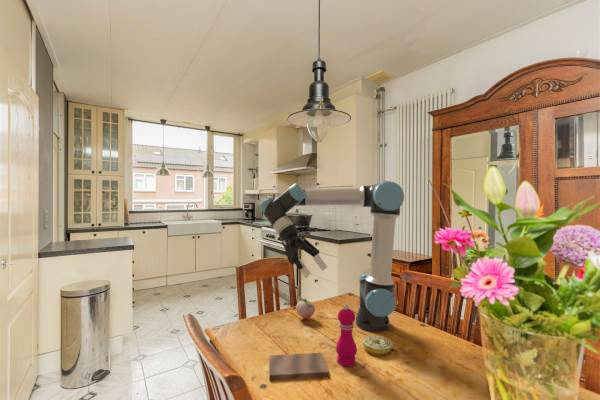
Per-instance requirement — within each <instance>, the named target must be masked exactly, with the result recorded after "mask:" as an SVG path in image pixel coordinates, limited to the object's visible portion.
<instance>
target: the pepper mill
mask: <svg viewBox="0 0 600 400" xmlns="http://www.w3.org/2000/svg"><path fill="white" fill-rule="evenodd" d="M355 315H356V314H355V312H354V311H353V310H352V309H350V307H349V305H348V304H345V305H343V308H341V309H339V311H338V314H337V319H338V322H339V323H338V327H339V328H340V335H339V338H338V341H337V343H336V345H335V346H336V347H335V350H336V351H335V352H336V353H337V359H336V360H337V363H338V364H339V365H341V366H343V367H353V366H354V365H355V364H356V355H357V352H358V350H357V349H358V348H357V343H356V342H355V339H354V337H353V329H354V322H355V321H356V316H355Z"/></svg>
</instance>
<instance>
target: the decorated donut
mask: <svg viewBox="0 0 600 400" xmlns="http://www.w3.org/2000/svg"><path fill="white" fill-rule="evenodd" d="M362 345H363V349H364V350H365V351H366V352H367V353H369V354H371V355H373V356H379V357H382V356H386V355H388V354H390V352H391V351H392V348H393V344H392V343H391V342H390V340H388V338H385V337H383V336H379V335H374V336H373V335H372V336H367V337H365V338H364V339H363V341H362Z"/></svg>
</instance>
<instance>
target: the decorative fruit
mask: <svg viewBox="0 0 600 400" xmlns="http://www.w3.org/2000/svg"><path fill="white" fill-rule="evenodd" d="M295 307H296V308H295V310H296V314H297V315H298V316H299V317H301V318H303V319H305V320H307V319H309V318H312V317H313V315H314V314H315V311H316V306H315V304H314V303H313V302H311V301H309V300H308V299H306V297H305V298H301V299H300V301H298V303H297V304H296V306H295Z"/></svg>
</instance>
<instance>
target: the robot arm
mask: <svg viewBox="0 0 600 400" xmlns="http://www.w3.org/2000/svg"><path fill="white" fill-rule="evenodd" d="M404 200H405V192H404V190H403V188H402V187H401V185H400V184H398V183H397V182H395V181H391V180H383V181H380V182H378V183H375V184H372V185H371V184H370V185H362V186H361V187H358V188H355V187H353V188H352V187H350V188H314V189H311V188H310V189H309V188H307V189H302V187H301V186H300V185H299V184H298V183H296V182H295V183H293V184H291V185H290V186H289V187H288V188H287V189H286V190H285V191H284V192H282V193H281V194H280V195H279V196H278V197H276V198H274V197H273V196H272V197H267V199H264V200H263V201H262V202H261V204H260V207H259V208H260V210H261V212H262V213H263V215H264V217H265V218H266V219H267V221H268V222H269V223H270V225H271V227H272V228H273V229H274V230H275V232H276V233H277V235H279V238H280V240H281V241H282V242H281V245H282V246H283V248H284V252H285V253H286V257H287V261H288V263H290V265H294V264H295V266H296V267H297V269H298V270H299V271H300V273H301V274H302V276H303V277H304V278H305V279H306V278H308V277H309V276H310V275H311V274H312V273H311V271H310V270H309V268H308V267H307V266H306V264H305V263H304V261H303V260H302V259H301V258H300V257H299V251H298V250H302V251H304V252H305V253H306V254H308V255H310V256H311V257H312V260H314V262H315V264H316V265H317V266H318V268H319V269H320V270H321V271H322V272H323V271H324V270H325V269H327V268H328V265H327V264H326V263H325V262H324V260H323V259H322V257H321V256H320V255H319V254H320V250H319V249H318V248H316V247H315V246H314V244H312V243H311V242H310V241H309V240H307V239H306V238H307V237H305V236H303V235H302V236H301V237H300V236H299V235H298V234H299V230H298V229H297V227H296V226H295V225H294V223H293V222H292V220H291V218H289V217H288V215H287V213H288V212H289V211H291V210H292V209H293V208H294V207H296V206H297V207H299V206H361V207H362V208H370V212H369V213H370V214H371V216H372V217H373V223H372V224H373V227H372V235H371V236H372V238H371V239H372V240H371V252H370V263H369V273H362V274H360V276H359V279H358V280H359V307H358V310H357V314H356V316H355V325H356V327H358V328H360V329H362V330H365V331H368V332H369V331H370V332H375V333H376V332H378V333H379V332H384V331H387V330H389V329H390V327H391V326H390V325H391V322H390V318H389V316H390V315H391V314H393V312H394V311H395V309H396V306H397V300H396V296H395V294H394V293H395V281H394V280H393V278H392V269H393V255H394V254H393V253H394V244H395V243H394V242H395V229H396V220H397V219H398V218H399V217H400V216H401V206H403V203H404Z"/></svg>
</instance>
